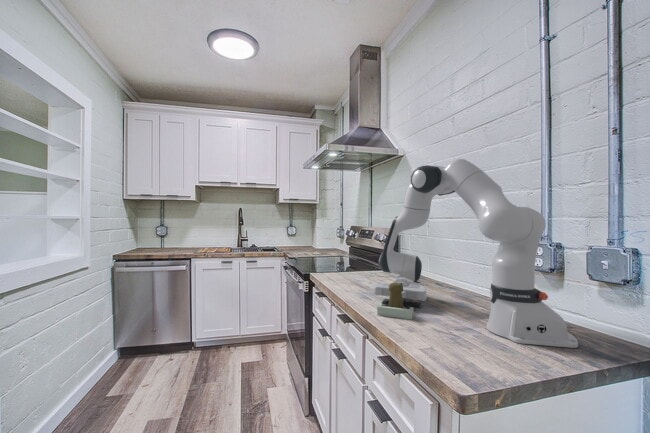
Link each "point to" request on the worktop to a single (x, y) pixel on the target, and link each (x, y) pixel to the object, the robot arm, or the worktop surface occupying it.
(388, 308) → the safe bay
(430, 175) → the robot arm
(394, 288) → the cork
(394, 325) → the worktop surface
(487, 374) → the worktop surface
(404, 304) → the trap squares
